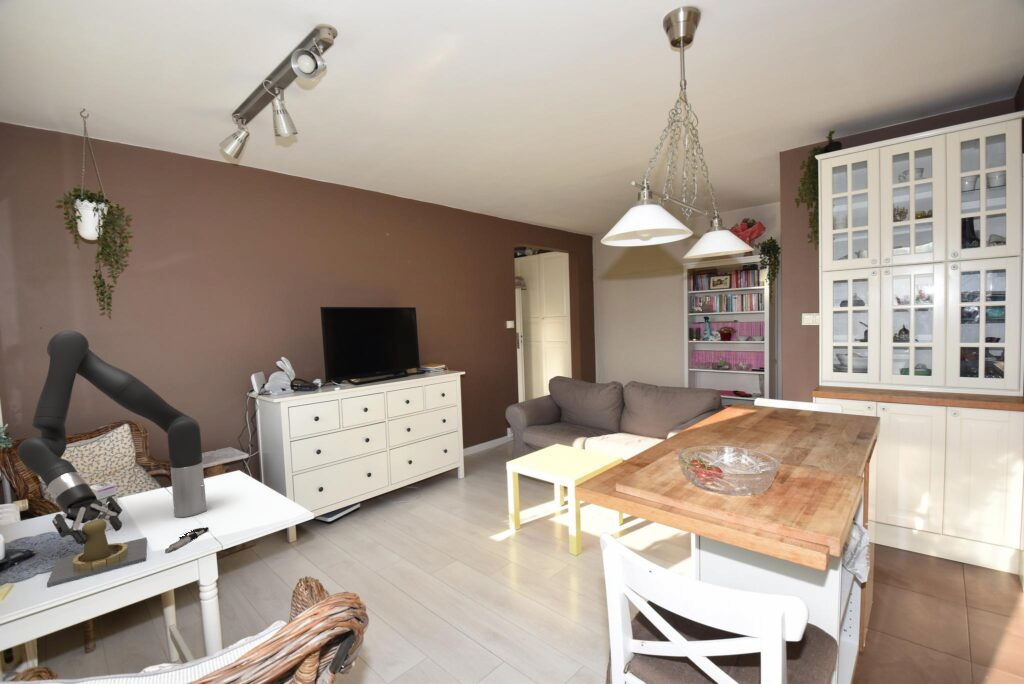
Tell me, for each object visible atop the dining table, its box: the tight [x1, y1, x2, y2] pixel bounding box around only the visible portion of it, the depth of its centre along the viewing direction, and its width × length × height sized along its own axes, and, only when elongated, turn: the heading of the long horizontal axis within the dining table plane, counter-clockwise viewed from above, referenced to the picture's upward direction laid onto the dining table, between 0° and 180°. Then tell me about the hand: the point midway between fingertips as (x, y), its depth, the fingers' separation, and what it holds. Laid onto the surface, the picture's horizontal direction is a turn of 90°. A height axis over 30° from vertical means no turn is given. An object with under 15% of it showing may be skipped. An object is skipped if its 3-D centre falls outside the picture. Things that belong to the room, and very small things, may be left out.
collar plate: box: [46, 537, 148, 588], centre depth 133 cm, size 20×16×2 cm
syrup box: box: [89, 481, 120, 532], centre depth 156 cm, size 6×6×14 cm
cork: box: [81, 519, 111, 562], centre depth 132 cm, size 6×6×11 cm
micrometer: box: [164, 526, 210, 554], centre depth 145 cm, size 15×7×2 cm, turn 170°
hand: (102, 535), depth 133 cm, fingers open, 8 cm apart
